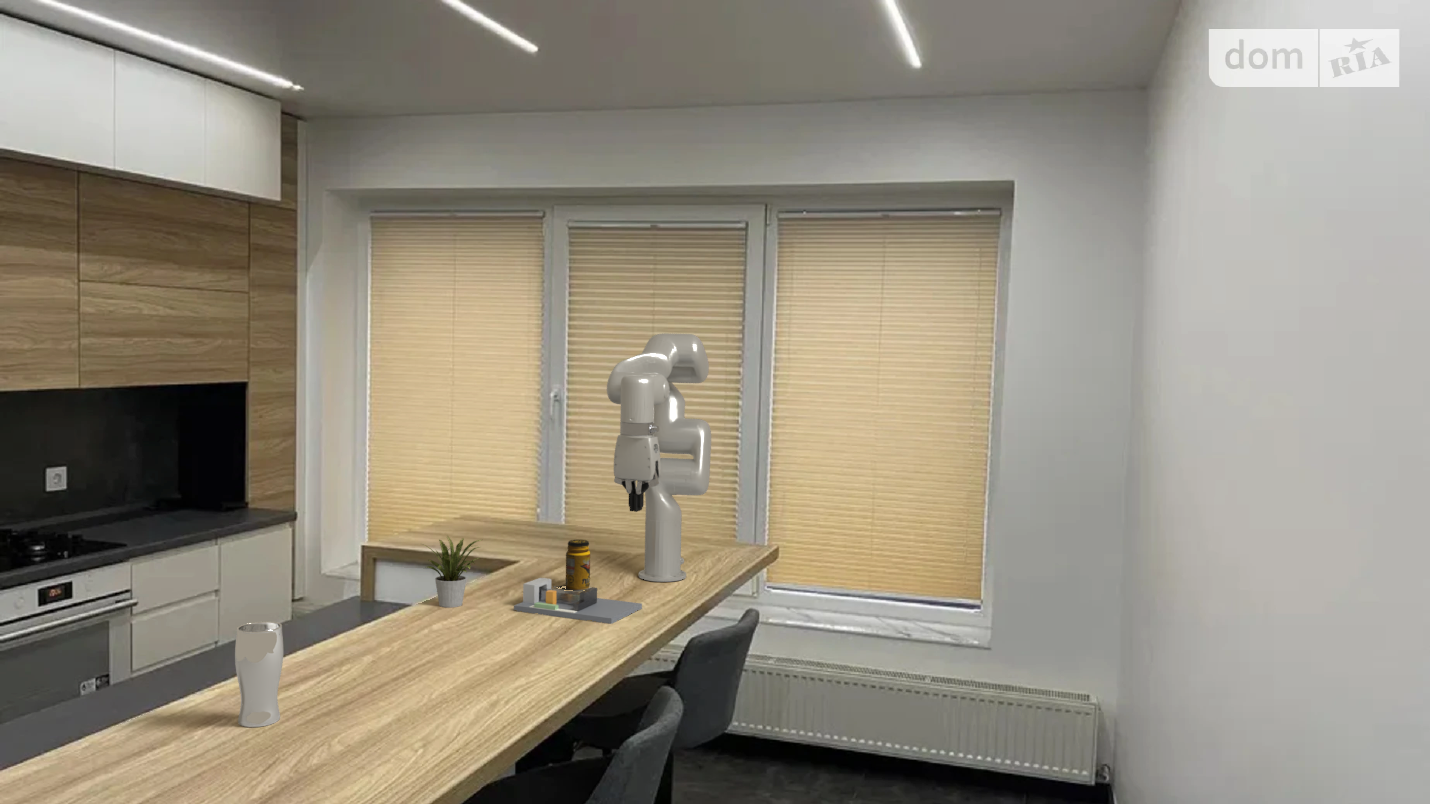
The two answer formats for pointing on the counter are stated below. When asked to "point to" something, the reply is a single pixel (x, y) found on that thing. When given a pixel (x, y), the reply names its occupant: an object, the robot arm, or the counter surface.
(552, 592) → the orange block
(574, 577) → the condiment
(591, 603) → the plunger
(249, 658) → the beer glass
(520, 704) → the counter surface
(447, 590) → the house plant
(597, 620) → the board
